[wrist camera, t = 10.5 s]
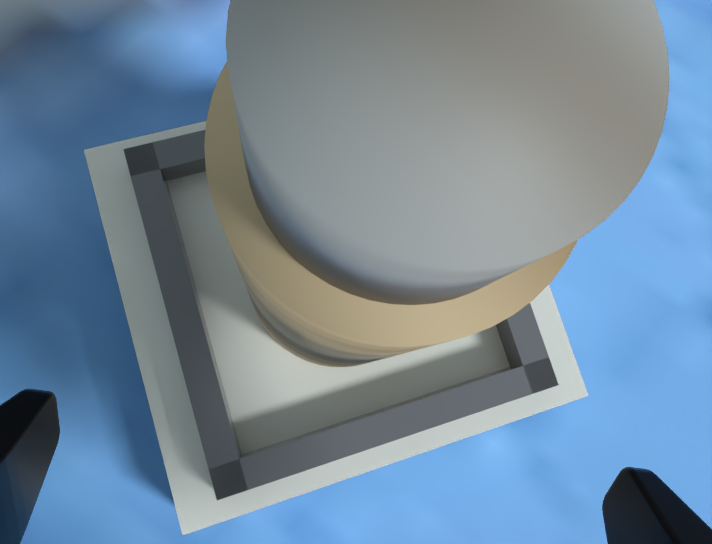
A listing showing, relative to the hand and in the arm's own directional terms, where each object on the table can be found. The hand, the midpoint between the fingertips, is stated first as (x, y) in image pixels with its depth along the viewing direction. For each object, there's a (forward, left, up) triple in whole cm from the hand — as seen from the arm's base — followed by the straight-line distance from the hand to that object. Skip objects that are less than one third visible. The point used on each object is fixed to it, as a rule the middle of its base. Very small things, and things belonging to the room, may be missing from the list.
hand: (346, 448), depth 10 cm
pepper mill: (+2, +4, -8) cm, 9 cm away
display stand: (+2, +4, -10) cm, 10 cm away
